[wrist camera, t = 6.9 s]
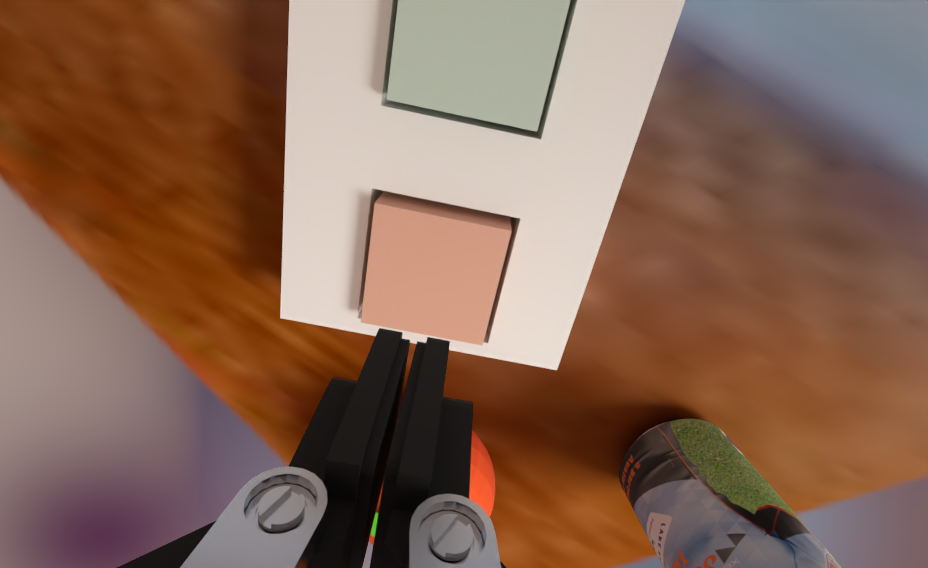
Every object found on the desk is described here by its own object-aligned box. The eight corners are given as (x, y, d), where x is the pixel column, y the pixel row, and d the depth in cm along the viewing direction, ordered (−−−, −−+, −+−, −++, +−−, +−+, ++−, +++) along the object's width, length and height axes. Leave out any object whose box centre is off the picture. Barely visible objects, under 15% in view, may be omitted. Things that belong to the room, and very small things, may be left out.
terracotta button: (507, 207, 20) (511, 231, 17) (482, 310, 22) (482, 345, 19) (390, 183, 19) (374, 203, 17) (376, 289, 21) (360, 322, 19)
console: (789, -409, 13) (871, -536, 10) (548, 333, 23) (556, 370, 20) (349, -530, 12) (309, -700, 9) (304, 287, 22) (280, 318, 20)
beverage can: (604, 416, 25) (695, 686, 14) (749, 390, 24) (967, 662, 13) (619, 497, 28) (706, 779, 17) (751, 477, 26) (935, 765, 16)
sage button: (566, -31, 16) (582, -50, 13) (529, 121, 18) (537, 131, 15) (421, -65, 16) (408, -91, 13) (401, 93, 18) (386, 99, 15)
